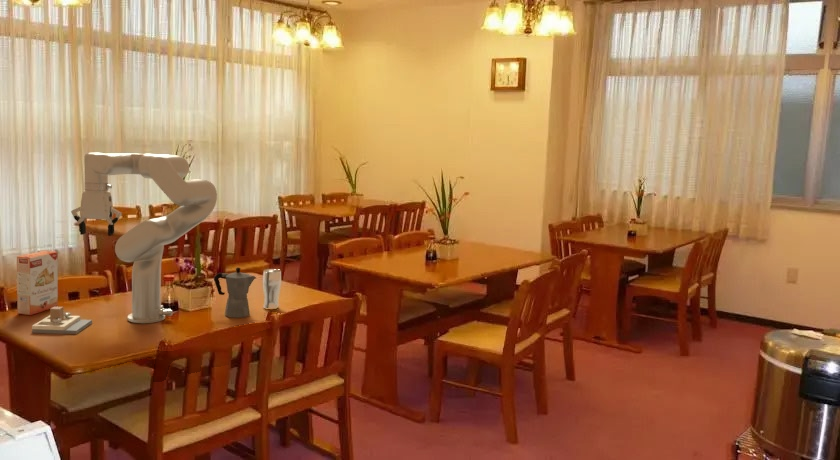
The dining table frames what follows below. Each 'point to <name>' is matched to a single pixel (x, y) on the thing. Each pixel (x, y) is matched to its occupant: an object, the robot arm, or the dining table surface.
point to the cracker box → (37, 282)
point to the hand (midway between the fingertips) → (96, 234)
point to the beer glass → (271, 287)
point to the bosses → (61, 319)
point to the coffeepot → (236, 292)
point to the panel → (50, 325)
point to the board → (70, 330)
